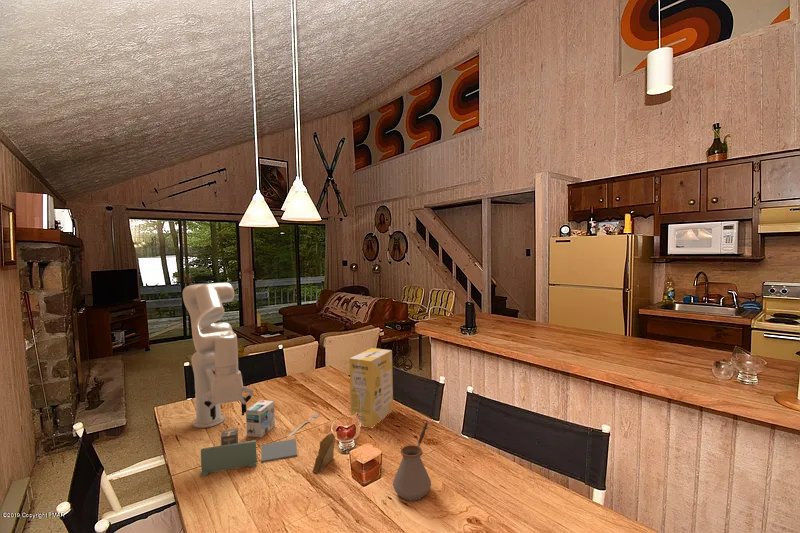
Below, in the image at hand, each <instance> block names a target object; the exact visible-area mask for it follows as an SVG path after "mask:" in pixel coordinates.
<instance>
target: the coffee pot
mask: <svg viewBox="0 0 800 533" xmlns="http://www.w3.org/2000/svg"><path fill="white" fill-rule="evenodd" d="M423 425H424V426H423V427H422V430H421V432H420V433H419V434H420V435H419V439H418V441H417V445H415V444H409V445H408V444H407V445H405V446H403V447H401V448H400V453H401V455H402V459H401V461H400V463H399V466H398V468H397V470H396V473H395V476H394V478H393V481H392V486H393V489H394V491H395V493H396V494H397V495H398V496H399V497H401V498H402V497H403V498H402V499H404V500H406V501H410V500H415V501H417V500H416V499H419V498H421V497H422V498H423V497H426V495H427V494H428V493H429V492H430V490H431V486H432V480H431V478H430V476H429V474H428V471H427V469H426V466H425V465H424V463H423V461H422V456H423V454H424V453H423V449H422V447H420V446H421V443H422V441H423V439H424V438H425V437H424V436H425V435H426V431H427V428H430V427H431V424H430V423H429V422H427V421H426V422H424V423H423ZM428 425H429V426H428ZM422 498H421V499H422ZM419 500H420V499H419Z"/></svg>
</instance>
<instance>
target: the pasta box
mask: <svg viewBox="0 0 800 533" xmlns="http://www.w3.org/2000/svg"><path fill="white" fill-rule="evenodd" d="M348 359H349V390H350V391H349V392H350V394H349V395H350V396H349V397H350V398H349V399H350V416H351V415H354V414H355V413H356V412H357V414H358V416H359V418H360V420H361V423H362V425H364V426H368V427H373V426H374V425H376V424H377V423H378V422H379V421H380V420H382V419H383V418H384V417H385V416H386V415H387V414H389V413H390V412H391V411H392V410H393V411H394V393H393V392H394V389H393V388H394V387H393V384H394V383H393V381H394V380H393V350H391V349H386V348H385V349H382V348H375V347H371V348H369V349H367V350H365V351H362V352H360V353H359V354H358V353H357V354H355V355H353V356H351V357H349V358H348ZM382 421H383V420H382ZM376 426H377V425H376Z"/></svg>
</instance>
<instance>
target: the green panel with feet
mask: <svg viewBox="0 0 800 533" xmlns="http://www.w3.org/2000/svg"><path fill="white" fill-rule="evenodd" d="M257 454H258V453H257V440H256V439H253V440H248V441H241V442H238V443H234V444H228V445H222V446H221V445H216V446H211V447H205V448H201V449H200V466H201V467H200V468H201V469H200V477H201V476H202V477H207V476H209V475H208V474H211V473H217V472H223V471H227V470H234V469H237V468H244V467H249V468H257V464H258V458H257V456H258V455H257Z"/></svg>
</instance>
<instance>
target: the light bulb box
mask: <svg viewBox="0 0 800 533" xmlns="http://www.w3.org/2000/svg"><path fill="white" fill-rule="evenodd" d="M245 416H246V418H245V419H246V420H245V422H246V437H253V438H262V437H264V436H265V435H266V434H267V433H268V432H270V430H272V429H273V428H274V427H275V426H276V425H275V423H276V422H275V419H276V418H275V401H274V400H264V399H260V400H258V401H257V402H255V403H254V404H252V405H251V406H250V407H248V408H246V412H245Z"/></svg>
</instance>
